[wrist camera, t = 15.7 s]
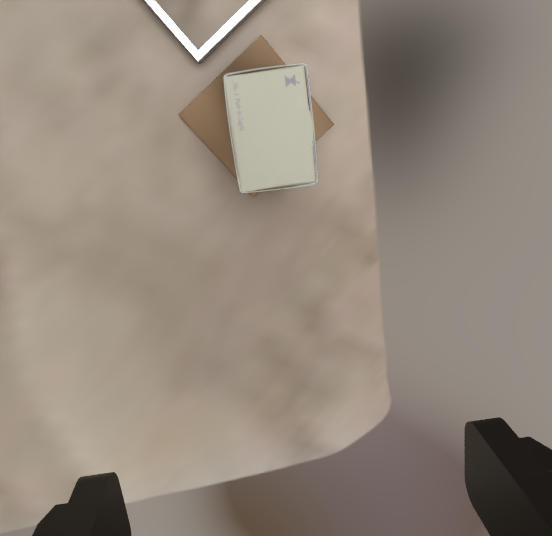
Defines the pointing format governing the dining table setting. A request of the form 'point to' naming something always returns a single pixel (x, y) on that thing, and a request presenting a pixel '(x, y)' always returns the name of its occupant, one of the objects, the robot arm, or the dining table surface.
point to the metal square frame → (217, 38)
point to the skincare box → (271, 127)
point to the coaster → (213, 114)
